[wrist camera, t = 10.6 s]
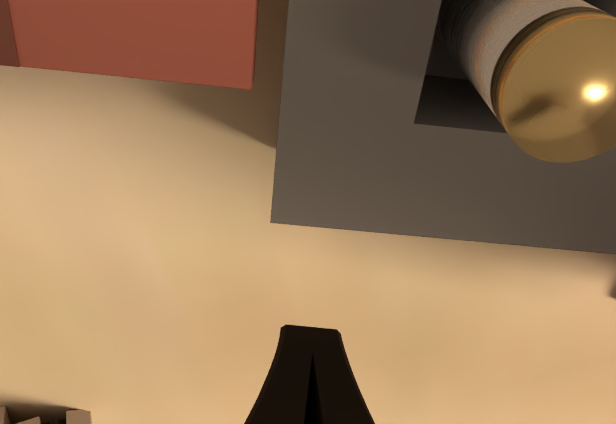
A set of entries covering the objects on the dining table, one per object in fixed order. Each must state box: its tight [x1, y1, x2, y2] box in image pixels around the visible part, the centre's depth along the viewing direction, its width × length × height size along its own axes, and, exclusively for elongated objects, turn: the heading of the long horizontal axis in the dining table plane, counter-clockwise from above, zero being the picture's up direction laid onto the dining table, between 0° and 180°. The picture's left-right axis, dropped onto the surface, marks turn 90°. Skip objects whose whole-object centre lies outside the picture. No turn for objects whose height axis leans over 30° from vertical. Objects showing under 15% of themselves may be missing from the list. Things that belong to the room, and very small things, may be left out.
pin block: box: [270, 0, 616, 254], centre depth 16 cm, size 12×12×5 cm
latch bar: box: [0, 0, 258, 89], centre depth 14 cm, size 7×4×1 cm, turn 84°
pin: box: [435, 0, 616, 163], centre depth 14 cm, size 3×3×8 cm
